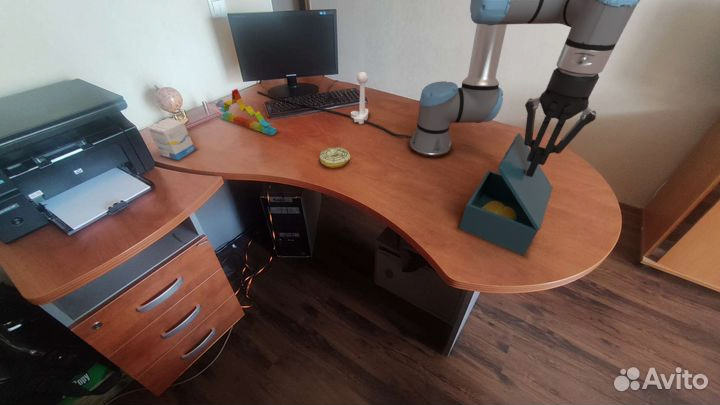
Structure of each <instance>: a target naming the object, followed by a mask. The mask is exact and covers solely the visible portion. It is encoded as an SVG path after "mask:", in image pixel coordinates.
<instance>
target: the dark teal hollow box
mask: <svg viewBox="0 0 720 405" xmlns="http://www.w3.org/2000/svg"><path fill="white" fill-rule="evenodd" d="M492 201H498V202H500V203H502V204H503V205H504V206H505V207H510V208H512V209H513V210H514V212H515V213H516V216H517V220H516V221H514V220H511V219H508V218H506V217H503V216H500V215H498V214H495V213H492V212H490V211H487V210H484V209H482V208H483V207H484V206H485V205H486V204H487V203H489V202H492ZM458 229H459V230H461V231H463V232H466V233H467V234H471V235H473V236H475V237H478V238H480V239H482V240H485V241H487V242H490V243H492V244H495V245H497V246H500V247H501V248H504V249H506V250H509V251H511V252H514V253H516V254H518V255H521V256H525V254H526V253H527V251H528V249H529V247H530V245H531V244H532V242H533V240H534V239H535V237H536V235H537V233H538V231H539V230H536V229H535V227H534V226H533V224H532V223H531V221H530V220H529V218H528V216H527V215H526V213H525V212H524V210H523V208H522V207H521V205H520V204H519V202H518V201H517V199H516V197H515V196H514V194H513V193H512V191H511V190H510V188H509V186H508V185H507V183H506V182H505V180H504V179H503V177H502V175H501V174H500V172H497V171H493V170H491V169H487V171H486V172H485V174H484V176H483V177H482V179H481V181H480V182H479V184H478V186H477V187H476V189H475V190H474V192H473V194H472V195H471V197H470V199H469V200H468V202H467V203H466V205H465V210H464V212H463V215H462V218H461V222H460V225H459V227H458Z"/></svg>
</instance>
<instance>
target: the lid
mask: <svg viewBox="0 0 720 405" xmlns="http://www.w3.org/2000/svg"><path fill="white" fill-rule="evenodd" d="M524 141H525V138H523V136H522V134H521V133H517V134H516V135H515V137H514V139H513V141H511V144H510V146H509V147H508V149H507V150H506V152H507V153H506V152H505V153H506V154H504V156H503V158H502V160H501V161H500V163H499V164H498V167H497V171H498V173H500V174H501V175H502V177H503V179H504V180H505V182H506V183H507V185H508V186H509V188H510V190H511V191H512V193H513V194H514V196H515V197H516V199H517V201H518V202H519V204H520V205H521V207H522V208H523V210H524V212H525V213H526V215H527V216H528V218H529V220H530V221H531V223H532V224H533V226H534V227H535V229H536V230H538V231H540V230H541V228H542V224H543V221H544V218H545V216H546V211H547V208H548V204H549V202H550V198H551V195H552V193H553V186H552V184H551V182H550V181H549V179H548V177H547V176H546V174H545V172H544V170H543V168H542V167H541V166H540V164H538V166H537V168H536V170H535V172H534V175H533V177H530V176H526V173H527V171H528V168H529V166H530V164H531V162H529V161H527V157H528V155H529V153H530V150H531V148H530V147H529V146H526V145H525V144H524Z"/></svg>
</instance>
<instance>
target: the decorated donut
mask: <svg viewBox="0 0 720 405" xmlns="http://www.w3.org/2000/svg"><path fill="white" fill-rule="evenodd" d="M350 160H351V154H350V152H349V151H348V149H345V148H343V147H342V146H341V147H340V146H338V147H337V146H334V147H328V148H325V149H324V150H322V151H321V152H320V153H319V162H320V163H321V164H322V165H323V166H324V167H327V168H329V169H339V168H342V167H344V166H345V165H346V164H347V163H348V162H349V161H350Z"/></svg>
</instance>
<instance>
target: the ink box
mask: <svg viewBox="0 0 720 405" xmlns="http://www.w3.org/2000/svg"><path fill="white" fill-rule="evenodd" d="M147 129H148V131H149V133H150V135H151V137H152V139H153V141H154V143H155V144H156V146H157V149H158V150H159V152H160V154H161V156H163V157H166V158H169V159H172V160H175V161H180V160H182V158H183V159H184V158H185V157H186V156H188V155H189V154H191V153H193V152H194V151H196V148H195V145H194V143H193V141H192V139H191V136H190V134H189V131H188V129H187V127H186V125H185V122H184V121H181V120H178V119H174V118H171V117H167V118H164V119H162V120H160V121H157V122H154V123H153V124H151V125H150V126H147Z"/></svg>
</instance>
